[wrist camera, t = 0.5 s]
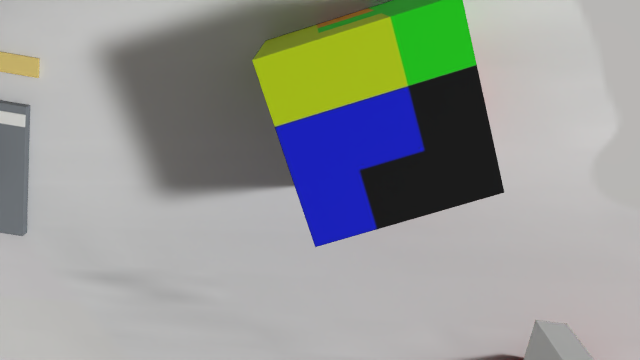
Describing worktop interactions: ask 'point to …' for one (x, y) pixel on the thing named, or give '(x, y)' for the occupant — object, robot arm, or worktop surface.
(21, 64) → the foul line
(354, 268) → the worktop surface
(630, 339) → the worktop surface
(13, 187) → the mat
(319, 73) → the puzzle toy
